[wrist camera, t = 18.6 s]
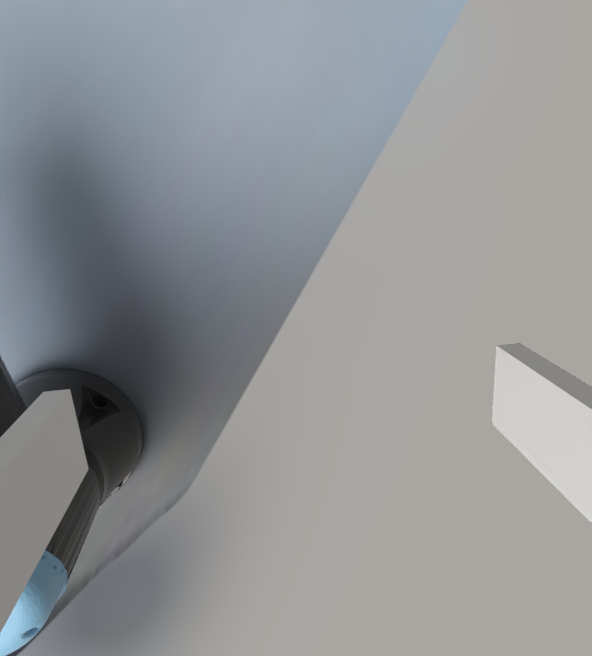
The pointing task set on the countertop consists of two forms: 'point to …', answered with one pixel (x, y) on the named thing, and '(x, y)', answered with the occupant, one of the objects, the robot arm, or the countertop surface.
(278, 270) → the countertop surface
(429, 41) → the countertop surface
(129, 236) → the countertop surface
